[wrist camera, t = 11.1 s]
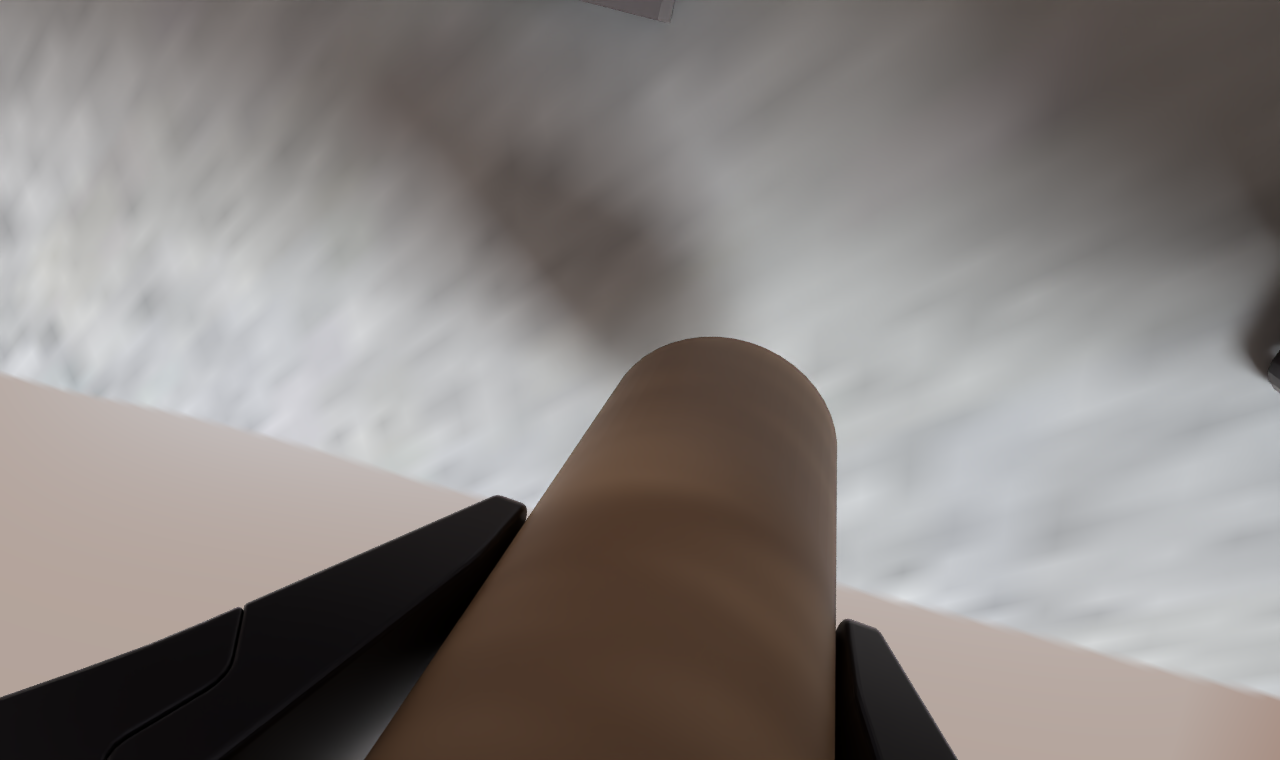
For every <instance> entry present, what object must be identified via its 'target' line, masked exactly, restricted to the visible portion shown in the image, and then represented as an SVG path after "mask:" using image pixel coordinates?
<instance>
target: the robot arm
mask: <svg viewBox="0 0 1280 760" xmlns="http://www.w3.org/2000/svg"><path fill="white" fill-rule="evenodd" d="M1268 378H1269V382H1270V383H1271V385H1272V386H1273V388H1274V389H1275V390H1276V391H1278V392H1279V393H1280V350H1279V352H1278V353H1277V355H1276V356H1275V358H1274V359H1273V361H1272V363H1271V365H1270V367H1269V370H1268ZM526 516H527V508H526V506H525V505H524V504H523V503H521V502H518V501H515V500H512V499H509V498H507V497H504V496H500V495H496V496H492V497H490V498H487V499H485V500H483V501H481V502H478V503H476V504H474V505H471V506H469V507H467V508H464V509H462V510H460V511H458V512H455V513H453V514H451V515H448V516H446V517H444V518H441V519H439V520H437V521H435V522H432V523H430V524H428V525H426V526H423V527H421V528H419V529H417V530H414V531H412V532H409V533H407V534H405V535H403V536H400V537H398V538H396V539H393V540H391V541H389V542H387V543H384V544H382V545H380V546H378V547H375V548H373V549H370V550H368V551H366V552H364V553H361V554H359V555H357V556H354V557H352V558H350V559H348V560H345V561H343V562H341V563H338V564H336V565H334V566H331V567H329V568H327V569H324V570H322V571H320V572H318V573H315V574H313V575H311V576H309V577H306V578H304V579H302V580H299V581H297V582H295V583H292V584H290V585H288V586H285V587H283V588H281V589H279V590H276V591H274V592H272V593H269V594H267V595H265V596H263V597H260V598H258V599H256V600H253V601H251V602H249V603H247V604H246V605H245V606H244V610H243V609H242V608H240V607H237V608H234V609H232V610H230V611H227V612H225V613H223V614H221V615H218V616H216V617H214V618H211V619H209V620H207V621H205V622H202V623H200V624H197V625H195V626H193V627H190V628H188V629H185V630H183V631H180V632H178V633H175V634H173V635H170V636H168V637H166V638H164V639H161V640H158V641H156V642H153V643H151V644H149V645H146V646H143V647H140V648H138V649H135V650H132V651H130V652H127V653H124V654H121V655H119V656H116V657H113V658H111V659H108V660H105V661H102V662H100V663H97V664H94V665H91V666H89V667H86V668H83V669H81V670H78V671H75V672H72V673H69V674H66V675H63V676H60V677H57V678H55V679H52V680H49V681H46V682H43V683H40V684H37V685H34V686H32V687H29V688H26V689H23V690H20V691H17V692H15V693H12V694H9V695H6V696H3V697H0V760H364V759H365V758H366V756H367V755H368V753H369V752H370V750H371V749H372V747H373V746H374V744H375V743H376V741H377V740H378V738H379V737H380V736H381V734H382V733H383V731H384V730H385V728H386V727H387V725H388V724H389V722H390V721H391V719H392V718H393V716H394V715H395V713H396V712H397V710H398V709H399V707H400V706H401V705H402V703H403V702H404V700H405V699H406V697H407V696H408V694H409V693H410V691H411V690H412V688H413V687H414V685H415V684H416V682H417V681H418V679H419V678H420V676H421V675H422V674H423V672H424V671H425V669H426V668H427V666H428V665H429V663H430V662H431V660H432V659H433V657H434V656H435V654H436V653H437V651H438V650H439V648H440V647H441V645H442V644H443V643H444V641H445V640H446V638H447V637H448V635H449V634H450V632H451V631H452V629H453V628H454V626H455V625H456V623H457V622H458V620H459V619H460V617H461V616H462V614H463V613H464V611H465V610H466V609H467V607H468V606H469V604H470V603H471V601H472V600H473V598H474V597H475V595H476V594H477V592H478V591H479V589H480V588H481V586H482V585H483V583H484V582H485V580H486V579H487V578H488V576H489V575H490V573H491V572H492V570H493V569H494V567H495V566H496V564H497V563H498V561H499V560H500V558H501V557H502V555H503V554H504V552H505V551H506V549H507V548H508V547H509V545H510V544H511V542H512V541H513V539H514V538H515V536H516V535H517V533H518V532H519V530H520V529H521V527H522V526H523V524H524V523H525V521H526ZM835 760H958V759H957V757H956V756H955V754H954V753H953V751H952V749H951V747H950V746H949V744H948V743H947V741H946V739H945V738H944V736H943V734H942V733H941V731H940V729H939V728H938V726H937V725H936V723H935V722H934V720H933V718H932V716H931V715H930V713H929V711H928V710H927V708H926V706H925V705H924V703H923V701H922V700H921V698H920V696H919V695H918V693H917V692H916V690H915V688H914V687H913V685H912V683H911V682H910V680H909V678H908V677H907V675H906V673H905V672H904V670H903V669H902V667H901V665H900V664H899V662H898V660H897V659H896V657H895V655H894V654H893V652H892V651H891V649H890V647H889V646H888V644H887V642H886V641H885V639H884V637H883V636H882V634H881V633H880V632H879V631H878V630H877V629H876V628H874V627H871V626H868V625H865V624H863V623H860V622H857V621H854V620H851V619H845V620H843V621H842V622H841V623H840V624H839V626H838V628H837V630H836V655H835Z"/></svg>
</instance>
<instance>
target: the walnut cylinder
mask: <svg viewBox="0 0 1280 760" xmlns="http://www.w3.org/2000/svg"><path fill="white" fill-rule="evenodd" d="M836 510H837V440H836V433H835V427H834V424H833V421H832V417H831V414H830V412H829V410H828V408H827V406H826V404H825V401H824V400H823V398H822V397H821V395H820V394H819V392H818V391H817V389H816V388H815V387H814V385H813V384H812V383H811V382H810V381H809V380H808V378H807V377H806V376H805V375H804V374H803V373H802V372H800V371H799V370H798V369H797V368H796V367H795V366H794V365H792V364H791V363H789V362H788V361H787V360H785V359H784V358H782V357H781V356H779V355H777V354H775V353H773V352H771V351H770V350H768V349H766V348H763V347H760V346H758V345H755V344H752V343H750V342H745V341H741V340H737V339H732V338H724V337H698V338H690V339H685V340H681V341H677V342H673V343H670V344H668V345H665V346H663V347H661V348H658V349H656V350H655V351H653V352H651V353H650V354H648V355H646V356H645V357H643V358H642V359H641V360H640V361H638V362H637V363H636V364H635V365H634V366H633V367H632V368H631V369H630V370H629V371H628V372H627V373H626V374H625V375H624V377H623V378H622V380H621V381H620V383H619V384H618V386H617V387H616V389H615V390H614V391H613V393H612V394H611V396H610V397H609V399H608V400H607V402H606V403H605V405H604V406H603V408H602V409H601V411H600V412H599V414H598V415H597V417H596V418H595V420H594V421H593V422H592V424H591V425H590V427H589V428H588V430H587V431H586V433H585V434H584V436H583V437H582V439H581V440H580V442H579V443H578V445H577V446H576V448H575V449H574V451H573V452H572V453H571V455H570V456H569V458H568V459H567V461H566V462H565V464H564V465H563V467H562V468H561V470H560V471H559V473H558V474H557V476H556V477H555V479H554V480H553V482H552V483H551V484H550V486H549V487H548V489H547V490H546V492H545V493H544V495H543V496H542V498H541V499H540V501H539V502H538V504H537V505H536V507H535V508H534V510H533V511H532V513H531V514H530V516H529V517H528V518H527V520H526V521H525V523H524V524H523V526H522V527H521V529H520V530H519V532H518V533H517V535H516V536H515V538H514V539H513V541H512V542H511V544H510V545H509V547H508V548H507V549H506V551H505V552H504V554H503V555H502V557H501V558H500V560H499V561H498V563H497V564H496V566H495V567H494V569H493V570H492V572H491V573H490V575H489V576H488V578H487V579H486V580H485V582H484V583H483V585H482V586H481V588H480V589H479V591H478V592H477V594H476V595H475V597H474V598H473V600H472V601H471V603H470V604H469V606H468V607H467V609H466V610H465V611H464V613H463V614H462V616H461V617H460V619H459V620H458V622H457V623H456V625H455V626H454V628H453V629H452V631H451V632H450V634H449V635H448V637H447V638H446V640H445V641H444V643H443V644H442V645H441V647H440V648H439V650H438V651H437V653H436V654H435V656H434V657H433V659H432V660H431V662H430V663H429V665H428V666H427V668H426V669H425V671H424V672H423V674H422V675H421V676H420V678H419V679H418V681H417V682H416V684H415V685H414V687H413V688H412V690H411V691H410V693H409V694H408V696H407V697H406V699H405V700H404V702H403V703H402V705H401V706H400V707H399V709H398V710H397V712H396V713H395V715H394V716H393V718H392V719H391V721H390V722H389V724H388V725H387V727H386V728H385V730H384V731H383V733H382V734H381V736H380V737H379V738H378V740H377V741H376V743H375V744H374V746H373V747H372V749H371V750H370V752H369V753H368V755H367V756H366V758H365V759H364V760H835V655H836Z"/></svg>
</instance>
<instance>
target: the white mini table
mask: <svg viewBox="0 0 1280 760" xmlns="http://www.w3.org/2000/svg"><path fill="white" fill-rule="evenodd" d="M581 1H584V2H588V3H592V4H596V5H600V6H604V7H608V8H612V9H615V10H619V11H623V12H627V13H631V14H635V15H639V16H643V17H646V18H650V19H654V20H658V21H663V22H667V23H670V20H671V16H672V11H673V7H674V2H675V0H581Z"/></svg>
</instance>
